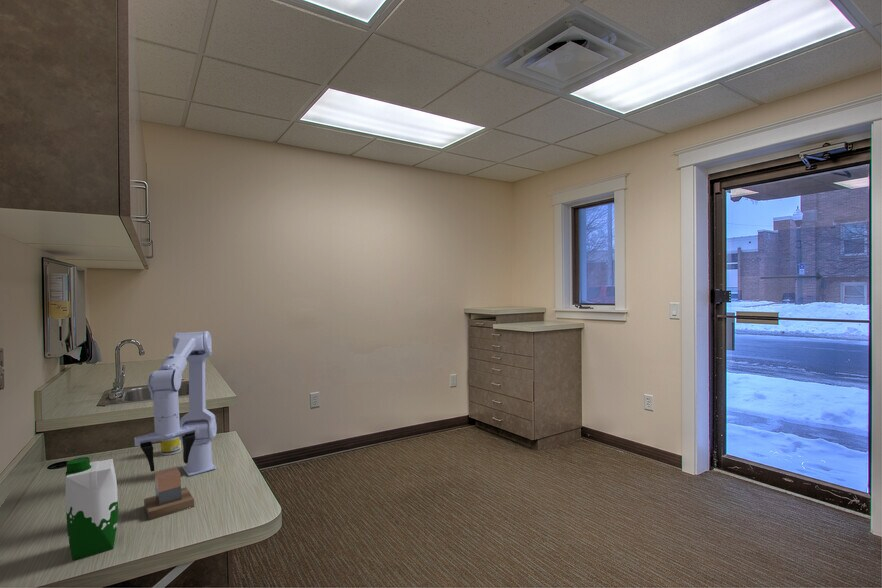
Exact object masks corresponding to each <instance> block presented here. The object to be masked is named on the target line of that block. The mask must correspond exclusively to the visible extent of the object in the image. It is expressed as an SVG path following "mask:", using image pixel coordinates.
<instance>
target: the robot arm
mask: <svg viewBox="0 0 882 588" xmlns="http://www.w3.org/2000/svg"><path fill="white" fill-rule="evenodd" d="M212 343H213V342H212V335H211V333H210V332H209V330H205V331H192V332H190V331H188V332H176V333H174V335H173V336H172V348H173V352H172V353H169V354H168V355H167V356H165V358H164V360H162V361H163V362H162V363H161V364H160V366H159V368H158V369H157V370H153V372H151V373H150V374H149V376H148V381H147V387H148V390H149V393H150V399H151V400H152V402H153V417H154V418H153V421H154V432H151V433H147V434H144V435H139V436H135V437H134V446H135V447H140V449H141V450H142V452H143V454H144V455H145V457H146V459H147V461H148V465H149V469H150V472H155V461H154V447H153V443H156V442H161V440H166V439H171V438H176V437H179V439H180V440H181V443H182V447H183V449H182V450H183V451H182V452H183V453H182V455H183V456H182V459H183V463H184V464H185V465H184V466H182V469H183V470H184V472H185V473H186V475H187V476H189V477H190V476H191V477H192V476H194V475H198V474H202V473H205V472H208V471H214V470H216V469H217V466H216V465H215V464H214V463H213V448H212V447H213V446H212V440H214V439H215V437H216V435H217V431H218V430H217V429H218V428H217V427H218V425H217V421H216V415H215V414H214V413H213V412H212V411H210V410H208V409H207V407H206V406H207V405H206V404H207V403H206V398H207V397H206V391H207V390H206V363H207V359H208V358H209V357H211V356H212V353H213V351H212V349H213V348H212V345H213V344H212ZM187 365H188V412H187V413H185V414H184V415H183V416H182V417H181V418H180V404H179V403H180V401H179V390H180V389H181V386H182V380H183V373H184V371H185V369H186V367H187Z"/></svg>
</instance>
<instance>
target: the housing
mask: <svg viewBox="0 0 882 588" xmlns="http://www.w3.org/2000/svg"><path fill="white" fill-rule="evenodd" d="M181 478H182V477H181V472H180V471H179V469H178V467H177V466H173V467H169V468H165V469H161V470H157V471H154V486H155V489H154V491H155V496H156V500H157V502H158V504H159V506H161V505H165V504H168V503H172V502H175V501H179V500H182V497H181V489H182V483H181V482H182V480H181Z"/></svg>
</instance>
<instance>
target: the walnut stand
mask: <svg viewBox="0 0 882 588" xmlns="http://www.w3.org/2000/svg"><path fill="white" fill-rule="evenodd" d="M181 497H182V500H179V501H175V502H172V503H168V504H165V505H161V506H159V504H158V502H157V500H156V495H154V496H149V497H146V498H143V507H144V510H145V513H146V514H147V517H148V520H149V521H151V520H154V519H158V518H161V517H165V516H167V515H171V514H175V513H179V512H182V511H184V509H185V510H188V509H190V508H189V507H191V508H194V507H195V499H194V497H193V495H192V494H191V492H190V490H189V489H188V488H187V487H183V488H182V487H181ZM193 506H194V507H193ZM187 508H188V509H187Z"/></svg>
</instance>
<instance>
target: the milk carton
mask: <svg viewBox="0 0 882 588" xmlns="http://www.w3.org/2000/svg"><path fill="white" fill-rule="evenodd" d="M90 460H91V459H90V457H88V456H82V457H76V458H73V459H71V460H68V461H67V462H65V463H66V465H65V466H66V471H65V511H66V514H65V515H66V532H67V540H68V545H69V549H70V554H71V559H72V561H74V560H77V559H81V558H85V557H89V556H92V555H97V554H100V553H103V552H107V551H111V550H114V547H115V541H116V535H117V530H118V522H119V496H118V495H119V494H118V483H117V475H116V470H115V465H114V459H113V458H110V459H105V460H104V459H103V460H95V461H90Z"/></svg>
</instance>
